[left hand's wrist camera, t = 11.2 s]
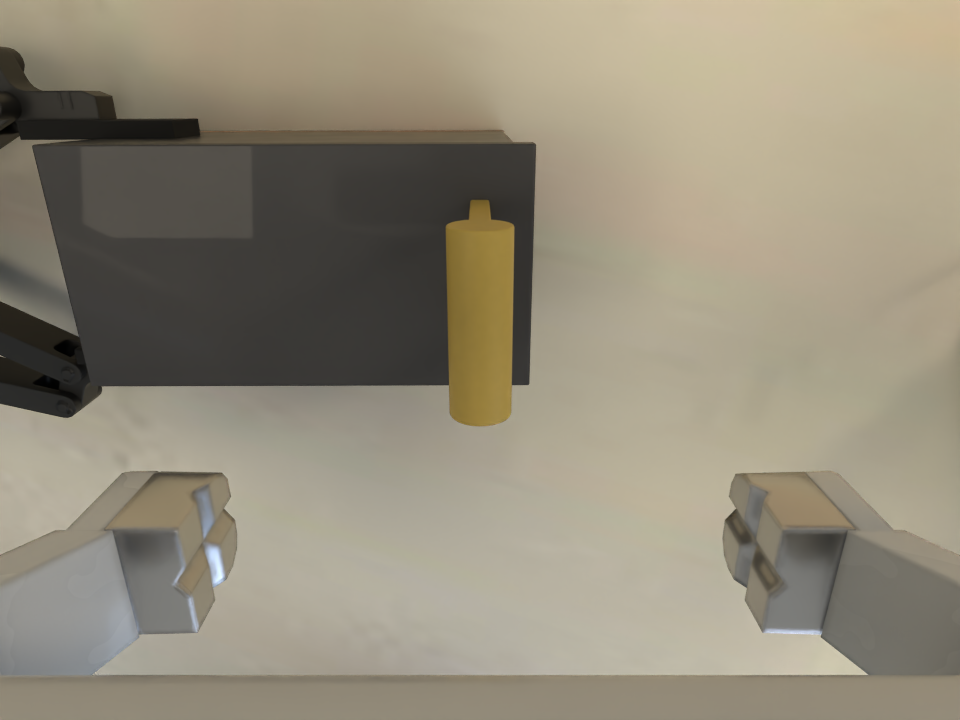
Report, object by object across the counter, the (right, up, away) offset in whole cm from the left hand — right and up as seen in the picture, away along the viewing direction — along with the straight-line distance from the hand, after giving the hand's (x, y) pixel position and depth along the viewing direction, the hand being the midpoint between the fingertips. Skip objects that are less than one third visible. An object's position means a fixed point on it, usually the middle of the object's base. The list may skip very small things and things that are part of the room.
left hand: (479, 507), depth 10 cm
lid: (-7, +6, +15) cm, 18 cm away
